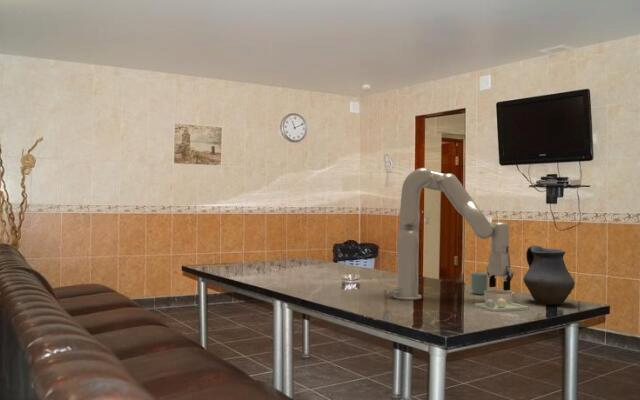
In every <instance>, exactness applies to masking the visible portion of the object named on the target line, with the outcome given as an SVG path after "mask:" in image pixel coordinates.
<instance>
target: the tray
mask: <svg viewBox="0 0 640 400" xmlns="http://www.w3.org/2000/svg"><path fill="white" fill-rule="evenodd" d="M474 307H475V308H479V309H482V310H484V311H488V312H493V313H502V312H513V311H514V312H516V311H517V312H518V311H530V306H527V305H523V304H519V303H516V302H514V303H512V302H507V304H506V306H505V307H504V308H499V307H498V306H497V304H496V302H495V307H494V308H489V307H486V305H485V302H480V303H479V302H478V303H477V302H476V303H474Z"/></svg>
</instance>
